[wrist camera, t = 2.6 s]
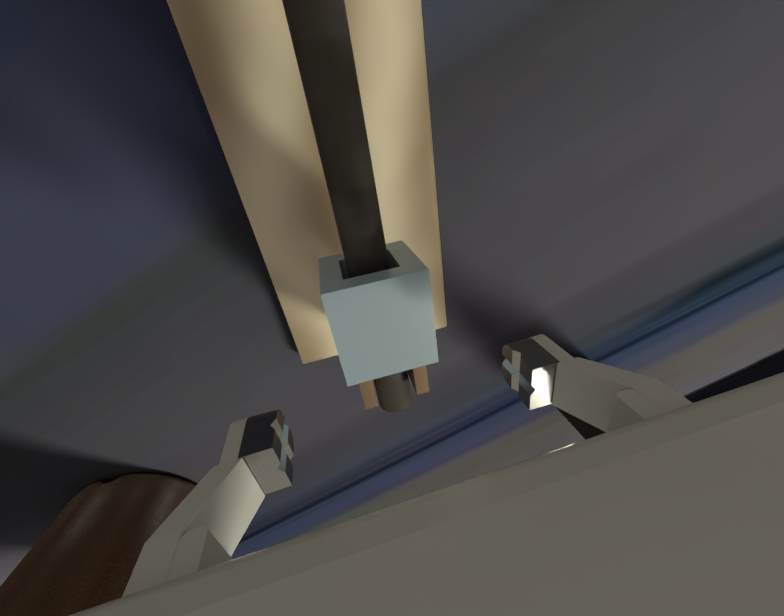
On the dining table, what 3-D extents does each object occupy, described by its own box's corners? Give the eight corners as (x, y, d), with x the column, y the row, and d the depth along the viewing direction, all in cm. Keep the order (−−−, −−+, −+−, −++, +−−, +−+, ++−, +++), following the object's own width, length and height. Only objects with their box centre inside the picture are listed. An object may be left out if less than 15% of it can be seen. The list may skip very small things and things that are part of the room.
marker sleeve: (402, 240, 17) (428, 269, 13) (412, 317, 20) (438, 361, 16) (318, 258, 17) (320, 294, 13) (340, 335, 19) (347, 386, 15)
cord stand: (399, -156, 14) (523, -581, 6) (441, 319, 27) (500, 399, 19) (122, -138, 13) (-236, -666, 5) (303, 355, 26) (299, 458, 17)
